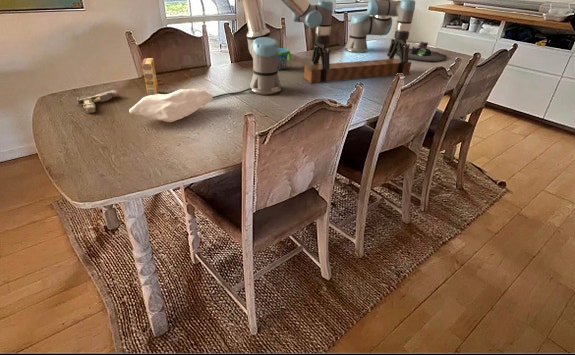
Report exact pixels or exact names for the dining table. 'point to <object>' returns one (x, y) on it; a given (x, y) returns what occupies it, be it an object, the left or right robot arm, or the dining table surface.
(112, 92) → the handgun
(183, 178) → the dining table surface
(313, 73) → the thick board
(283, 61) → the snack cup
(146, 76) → the candy box
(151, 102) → the crumpled cloth
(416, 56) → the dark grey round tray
